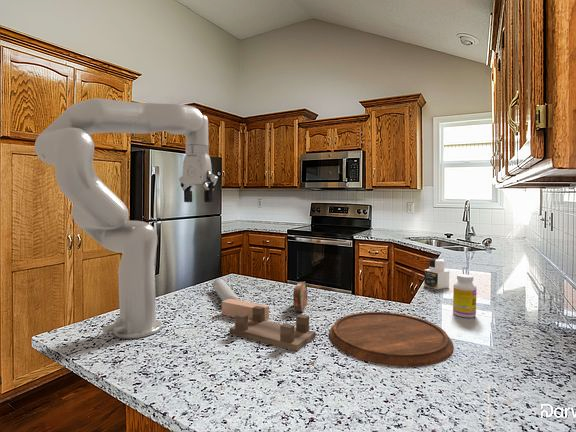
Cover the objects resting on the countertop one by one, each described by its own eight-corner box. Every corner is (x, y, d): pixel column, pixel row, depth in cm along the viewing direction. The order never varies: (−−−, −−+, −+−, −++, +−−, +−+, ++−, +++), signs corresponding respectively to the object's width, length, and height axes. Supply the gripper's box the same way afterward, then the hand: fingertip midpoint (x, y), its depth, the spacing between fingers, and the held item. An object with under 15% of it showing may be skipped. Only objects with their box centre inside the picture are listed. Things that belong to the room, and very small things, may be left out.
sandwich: (301, 315, 111) (301, 289, 111) (292, 314, 112) (292, 289, 111) (308, 301, 126) (308, 279, 126) (299, 301, 127) (299, 278, 126)
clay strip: (261, 324, 104) (261, 309, 104) (221, 315, 113) (221, 301, 112) (268, 320, 108) (268, 306, 108) (229, 311, 116) (229, 298, 116)
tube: (242, 296, 120) (227, 280, 143) (227, 293, 118) (214, 277, 141) (237, 311, 120) (223, 292, 143) (223, 308, 118) (210, 289, 141)
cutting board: (310, 326, 102) (310, 318, 102) (398, 313, 114) (398, 306, 114) (372, 379, 73) (372, 367, 72) (483, 354, 84) (483, 344, 84)
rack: (297, 351, 85) (297, 329, 85) (229, 333, 97) (229, 314, 96) (315, 337, 94) (315, 317, 93) (251, 322, 105) (251, 304, 105)
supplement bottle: (475, 319, 106) (476, 278, 106) (451, 316, 110) (452, 276, 109) (476, 313, 112) (477, 274, 111) (454, 310, 116) (455, 272, 115)
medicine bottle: (423, 285, 148) (424, 258, 148) (435, 283, 151) (436, 257, 151) (437, 289, 142) (437, 260, 141) (449, 287, 145) (450, 259, 144)
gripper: (171, 152, 118) (172, 202, 119) (207, 148, 109) (208, 202, 110) (188, 154, 124) (188, 202, 125) (224, 151, 115) (224, 202, 116)
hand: (198, 202), depth 117 cm, fingers open, 9 cm apart
